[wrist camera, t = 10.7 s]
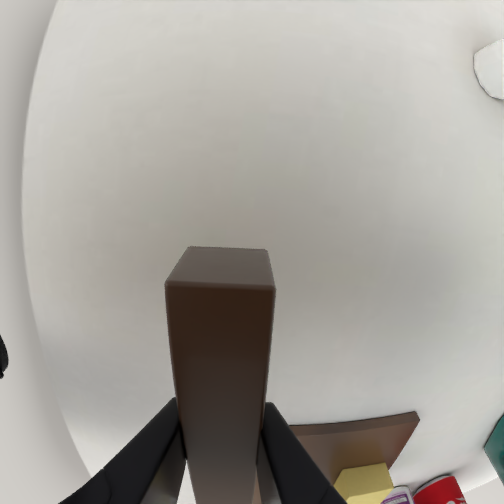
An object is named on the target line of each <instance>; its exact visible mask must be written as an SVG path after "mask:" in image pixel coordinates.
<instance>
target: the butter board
mask: <svg viewBox="0 0 504 504" xmlns="http://www.w3.org/2000/svg"><path fill="white" fill-rule="evenodd" d="M419 421H420V419H419V417H418V415H417V413H416V412H411V413H406V414H401V415H395V416H389V417H383V418H376V419H369V420H362V421H353V422H344V423H333V424H320V425H301V426H289V427H290V428H291V430H292V431H293V432H294V434H295V435H296V437H297V438H298V439H299V441H300V442H301V444H302V445H303V446H304V448H305V449H306V451H307V452H308V453H309V455H310V456H311V457H312V459H313V460H314V461H315V463H316V464H317V465H318V467H319V468H320V469H321V471H322V472H323V473H324V475H325V476H326V477H327V479H328V480H329V481H330V483H331V485H334V484H335V482H336V480H337V478H338V477H339V475H340V473H341V471H342V470H343V469H348V468H356V467H362V466H368V465H374V464H379V463H384V462H385V463H386V466H387V468H388V470H389V469H390V467H391V466H392V464H393V463H394V461H395V460H396V459H397V457H398V455H399V454H400V452H401V451H402V449H403V448H404V446H405V445H406V443H407V441H408V440H409V438H410V436H411V435H412V433H413V431H414V430H415V428H416V426H417V425H418V423H419ZM253 504H262V503H261V497H260V490H259V484H258V477H257V476H256V483H255V491H254V498H253Z"/></svg>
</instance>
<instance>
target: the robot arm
mask: <svg viewBox="0 0 504 504" xmlns="http://www.w3.org/2000/svg"><path fill="white" fill-rule="evenodd" d="M3 377H4V374H3V371H2V369H1V367H0V379H2V378H3ZM185 465H186V454H185V449H184V443H183V438H182V432H181V426H180V421H179V414H178V408H177V401H176V397H174V398H172V399H171V400H170V401H169V402H168V403H167V404H166V405H165V406H164V407H163V408H162V409H161V410H160V412H159V413H158V414H157V415H156V416H155V417H154V418H153V419H152V420H151V421H150V422H149V423H148V424H147V425H146V426H145V427H144V428H143V429H142V430H141V431H140V432H139V433H138V434H137V435H136V436H135V437H134V438H133V439H132V440H131V441H130V442H129V443H128V444H127V445H126V446H125V447H124V448H123V449H122V450H121V451H120V452H119V453H118V454H117V455H116V456H115V457H114V458H113V459H112V460H111V461H110V462H108V463H107V464H106V465H105V466H104V467H103V469H104V470H103V469H101V470H100V471H99V472H98V473H97V474H96V475H95V476H94V477H93V478H91V479H90V480H89V481H88V482H87V483H86V484H85V485H83V486H82V487H81V488H80V489H78V490H77V491H76V492H75V493H73V494H72V495H71V496H69V497H67V498H66V499H64V500H63V501H61V502H60V503H58V504H177V500H178V496H179V491H180V487H181V483H182V479H183V475H184V470H185ZM256 469H257V477H258V484H259V490H260V497H261V503H262V504H348V503H347V502H346V501H345V500H344V499H343V497H342V496H341V495H340V494H339V493H338V491H337V490H336V489H335V488H334V486H333V485H331V483H330V481H329V480H328V479H327V477H326V476H325V475H324V473H323V472H322V471H321V469H320V468H319V467H318V465H317V464H316V463H315V461H314V460H313V459H312V457H311V456H310V455H309V453H308V452H307V451H306V449H305V448H304V446H303V445H302V444H301V442H300V441H299V439H298V438H297V437H296V435H295V434H294V432H293V431H292V430H291V428H290V427H289V425H288V424H287V423H286V421H285V420H284V418H283V417H282V415H281V414H280V412H279V411H278V409H277V408H276V407H275V405H274V404H273V403H272V402H265V409H264V418H263V427H262V430H261V431H260V438H259V447H258V455H257V464H256Z"/></svg>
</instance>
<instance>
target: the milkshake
mask: <svg viewBox="0 0 504 504" xmlns="http://www.w3.org/2000/svg"><path fill="white" fill-rule="evenodd" d="M474 70H475V73H476V75H477V78H478V80H479V83H480V85H481V86H482V87H483V88H484V90H485V91H486V92H487V93H488V94H489V95H490V97H494V98H498V99H502V100H504V38H503V39H501V40H499V41H497V42H494V43H492V44H490V45H488V46H486V47H484V48H482V49H480V50H479V51H478V52H477V53H476V54H475V55H474Z"/></svg>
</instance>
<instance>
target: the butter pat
mask: <svg viewBox="0 0 504 504" xmlns="http://www.w3.org/2000/svg"><path fill="white" fill-rule="evenodd" d="M333 486H334V488H335V489H336V490H337V491H338V493H339V494H340V495H341V496H342V497H343V499H344V500H345V501H346V502H347V503H348V504H380V503H381V502H382V501H383V500H384V499H385V498H386V497H387V496H388V495H389V493H390V492H391V491H392V490H393V489H394V486H393V483H392V480H391V477H390V474H389V471H388V468H387V466H386V463H385V462H384V463H379V464H374V465H368V466H362V467H356V468H348V469H343V470H342V471H341V473H340V475H339V477H338V478H337V480H336V482H335V484H334V485H333Z"/></svg>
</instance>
